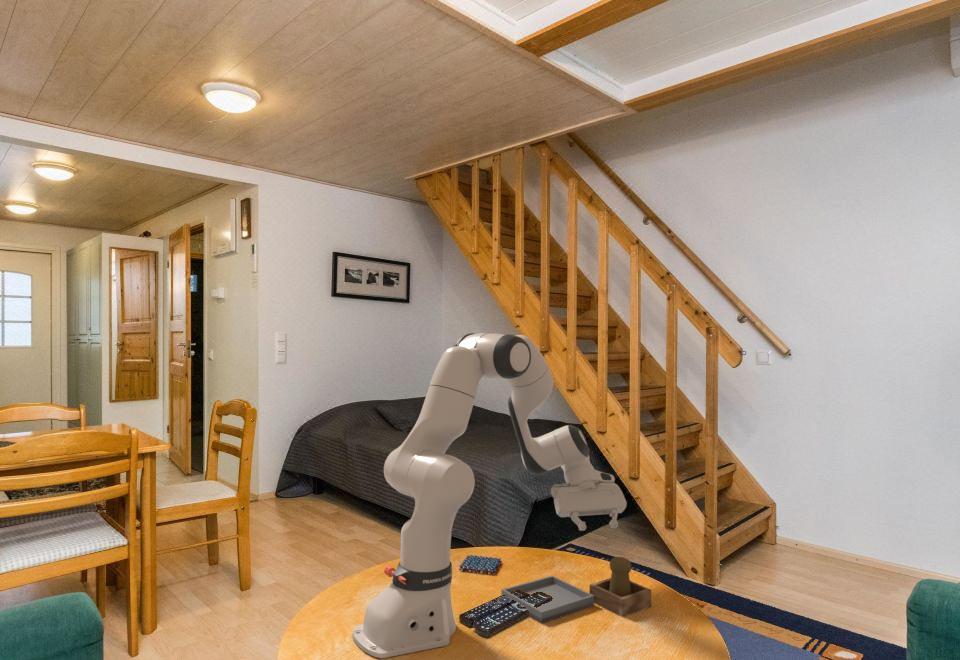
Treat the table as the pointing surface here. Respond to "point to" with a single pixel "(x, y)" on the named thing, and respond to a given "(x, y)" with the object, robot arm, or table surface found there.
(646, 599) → the holder
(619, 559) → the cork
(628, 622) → the table surface
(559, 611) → the tray
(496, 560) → the woven mat
